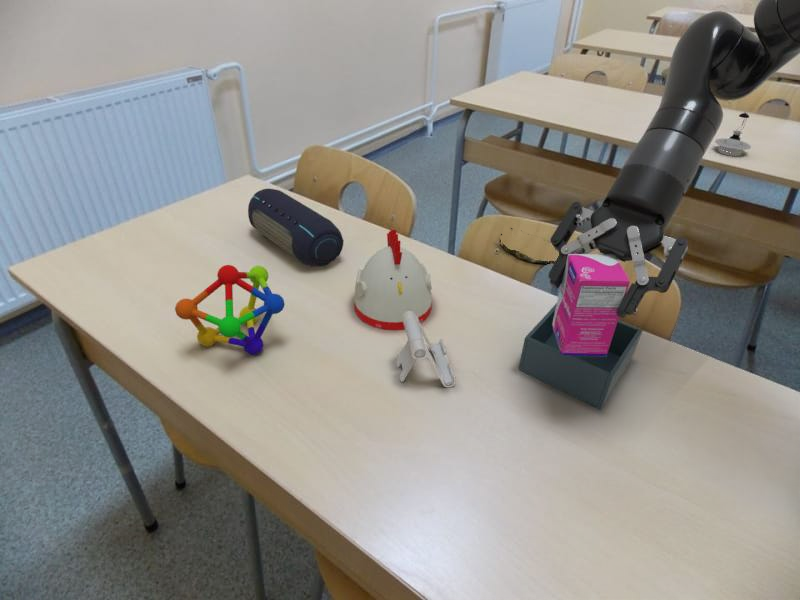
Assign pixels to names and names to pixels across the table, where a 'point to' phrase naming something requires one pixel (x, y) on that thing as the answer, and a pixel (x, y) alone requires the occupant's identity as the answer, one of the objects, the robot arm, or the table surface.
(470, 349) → the table surface
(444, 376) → the tablet stand
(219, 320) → the educational toy
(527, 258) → the dark brown curved strip
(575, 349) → the supplement box
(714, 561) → the table surface
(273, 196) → the portable speaker
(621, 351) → the bin
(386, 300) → the kitchen timer
